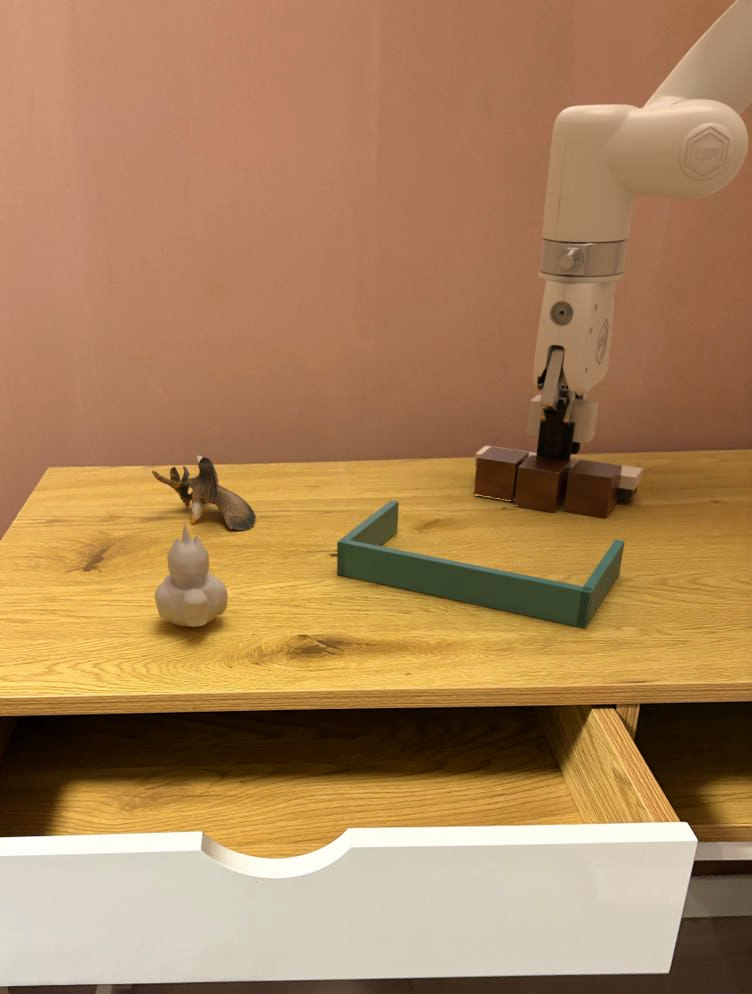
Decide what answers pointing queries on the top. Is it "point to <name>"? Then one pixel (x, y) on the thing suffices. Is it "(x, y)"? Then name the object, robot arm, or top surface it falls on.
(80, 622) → the top surface
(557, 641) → the top surface
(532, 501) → the block
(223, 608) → the grey rounded lumpy piece
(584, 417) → the brush
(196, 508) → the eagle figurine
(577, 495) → the block
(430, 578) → the corral
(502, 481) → the block
